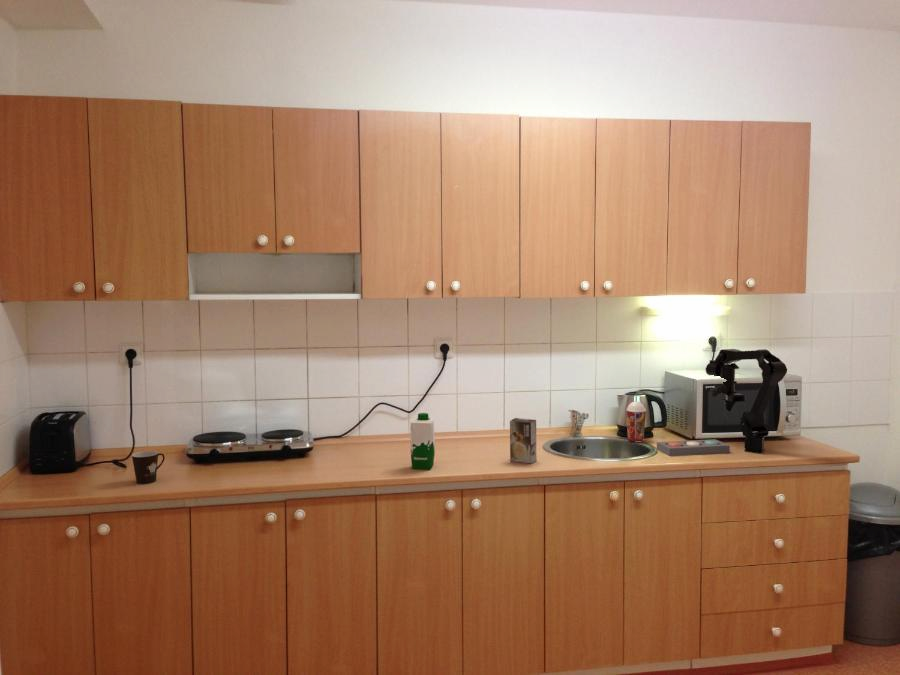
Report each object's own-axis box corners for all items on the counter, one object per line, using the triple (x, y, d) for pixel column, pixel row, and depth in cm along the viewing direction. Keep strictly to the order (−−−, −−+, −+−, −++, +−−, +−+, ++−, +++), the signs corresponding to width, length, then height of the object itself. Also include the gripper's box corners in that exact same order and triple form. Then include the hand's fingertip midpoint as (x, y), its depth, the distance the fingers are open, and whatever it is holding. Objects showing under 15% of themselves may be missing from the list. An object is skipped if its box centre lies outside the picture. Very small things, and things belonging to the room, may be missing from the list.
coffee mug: (136, 486, 245) (134, 458, 244) (130, 480, 252) (129, 453, 251) (171, 480, 252) (169, 453, 251) (164, 475, 259) (163, 448, 258)
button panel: (729, 452, 284) (729, 445, 284) (669, 455, 280) (669, 448, 280) (715, 446, 295) (715, 439, 295) (656, 449, 291) (656, 442, 291)
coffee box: (537, 460, 276) (537, 419, 274) (531, 463, 270) (531, 422, 269) (515, 457, 280) (515, 417, 279) (509, 461, 274) (509, 420, 273)
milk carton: (436, 464, 270) (435, 413, 269) (432, 470, 261) (431, 417, 260) (413, 463, 272) (413, 412, 270) (409, 470, 263) (408, 417, 261)
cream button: (701, 449, 286) (701, 444, 285) (690, 449, 285) (690, 444, 285) (695, 446, 290) (695, 441, 290) (684, 447, 290) (684, 441, 289)
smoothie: (646, 443, 301) (647, 397, 300) (626, 442, 303) (627, 396, 301) (644, 438, 310) (645, 393, 308) (624, 438, 311) (625, 393, 309)
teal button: (719, 448, 287) (720, 443, 287) (708, 449, 286) (708, 443, 286) (713, 445, 292) (713, 440, 292) (702, 446, 291) (702, 440, 291)
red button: (683, 450, 284) (683, 444, 284) (671, 450, 283) (671, 445, 283) (677, 447, 289) (677, 442, 289) (665, 447, 288) (665, 442, 288)
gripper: (698, 376, 307) (697, 411, 309) (721, 382, 289) (720, 419, 290) (722, 375, 309) (721, 410, 310) (746, 381, 291) (745, 418, 292)
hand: (726, 414), depth 301 cm, fingers closed
